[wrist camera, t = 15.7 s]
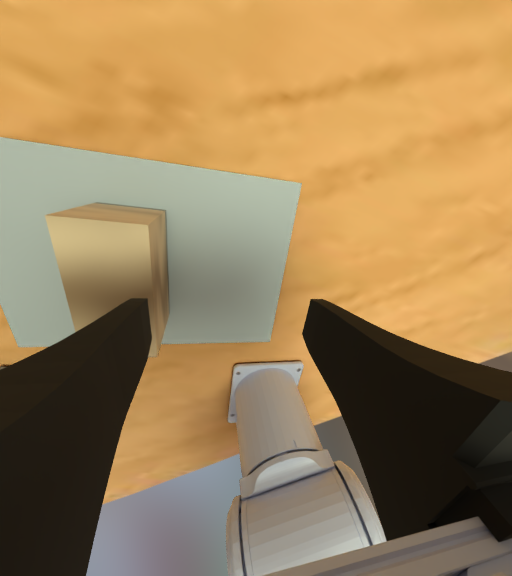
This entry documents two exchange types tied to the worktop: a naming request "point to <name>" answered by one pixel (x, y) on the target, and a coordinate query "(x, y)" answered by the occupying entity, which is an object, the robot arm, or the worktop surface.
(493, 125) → the worktop surface
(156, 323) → the block
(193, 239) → the board
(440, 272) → the worktop surface
